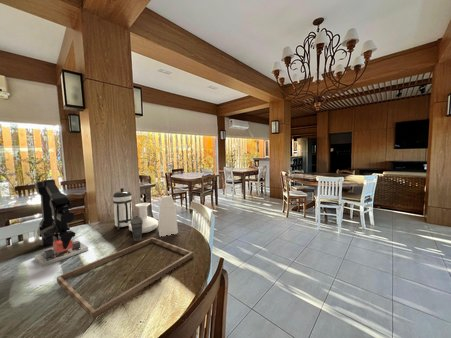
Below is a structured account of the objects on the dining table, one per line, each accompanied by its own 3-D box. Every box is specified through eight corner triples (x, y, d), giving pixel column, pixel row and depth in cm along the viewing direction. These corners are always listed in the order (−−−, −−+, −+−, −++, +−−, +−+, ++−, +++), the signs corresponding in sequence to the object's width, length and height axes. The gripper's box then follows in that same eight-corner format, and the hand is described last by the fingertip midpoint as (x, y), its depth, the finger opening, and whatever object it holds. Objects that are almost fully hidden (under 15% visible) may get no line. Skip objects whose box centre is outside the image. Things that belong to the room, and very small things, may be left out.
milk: (175, 228, 146) (174, 194, 144) (177, 233, 136) (176, 197, 134) (158, 230, 141) (157, 195, 139) (159, 236, 131) (158, 198, 129)
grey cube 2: (59, 252, 107) (58, 246, 106) (65, 249, 109) (65, 244, 109) (61, 253, 105) (60, 248, 105) (67, 251, 107) (67, 246, 107)
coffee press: (106, 229, 144) (104, 189, 141) (121, 222, 159) (120, 186, 157) (128, 231, 141) (126, 190, 138) (141, 223, 156) (139, 186, 154)
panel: (34, 259, 104) (34, 254, 103) (79, 244, 120) (78, 240, 120) (42, 266, 96) (41, 262, 96) (88, 250, 113) (87, 246, 113)
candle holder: (149, 236, 131) (148, 208, 130) (122, 234, 134) (121, 207, 133) (163, 225, 151) (162, 201, 150) (139, 224, 154) (138, 200, 153)
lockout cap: (53, 249, 106) (52, 241, 106) (68, 245, 112) (67, 237, 111) (57, 253, 103) (57, 244, 102) (72, 248, 108) (72, 240, 108)
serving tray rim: (57, 282, 84) (56, 276, 84) (152, 241, 124) (152, 237, 124) (93, 320, 65) (92, 313, 65) (193, 256, 105) (192, 252, 104)
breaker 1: (44, 256, 102) (44, 251, 102) (51, 254, 104) (51, 248, 104) (46, 258, 100) (45, 252, 100) (53, 255, 103) (53, 250, 102)
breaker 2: (72, 247, 112) (71, 242, 112) (78, 245, 114) (77, 240, 114) (74, 248, 110) (73, 243, 110) (80, 246, 113) (80, 241, 112)
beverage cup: (138, 242, 122) (137, 211, 121) (128, 241, 124) (127, 210, 122) (145, 237, 129) (144, 208, 128) (136, 236, 131) (134, 207, 129)
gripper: (35, 220, 104) (38, 248, 106) (46, 227, 94) (49, 258, 95) (61, 215, 114) (63, 241, 115) (74, 221, 103) (76, 249, 104)
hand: (63, 247), depth 107 cm, fingers closed on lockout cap, 7 cm apart
